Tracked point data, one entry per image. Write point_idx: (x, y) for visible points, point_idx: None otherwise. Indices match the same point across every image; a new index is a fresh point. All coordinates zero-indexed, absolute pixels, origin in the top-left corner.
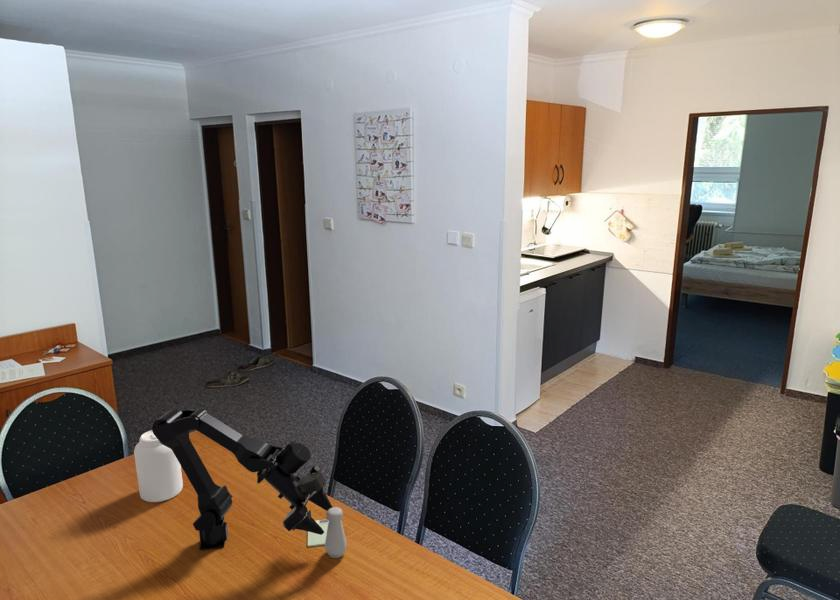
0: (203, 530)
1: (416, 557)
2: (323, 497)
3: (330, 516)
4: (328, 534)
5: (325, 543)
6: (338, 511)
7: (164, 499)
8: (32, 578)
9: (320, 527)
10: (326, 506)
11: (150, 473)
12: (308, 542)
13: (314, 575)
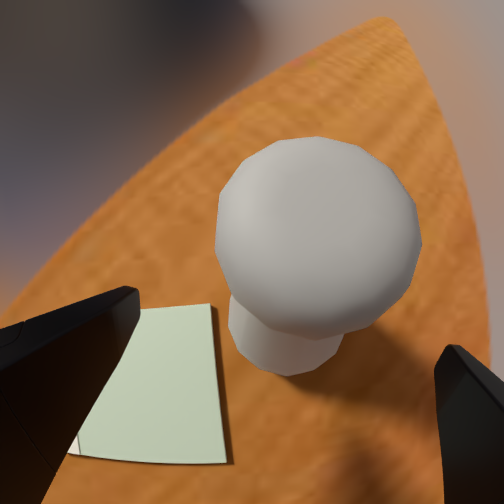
0: None
1: (308, 73)
2: (12, 377)
3: (415, 262)
4: (331, 339)
5: (299, 370)
6: (348, 157)
7: None
8: None
9: (477, 371)
10: (95, 354)
11: None
12: (202, 459)
13: (419, 396)
